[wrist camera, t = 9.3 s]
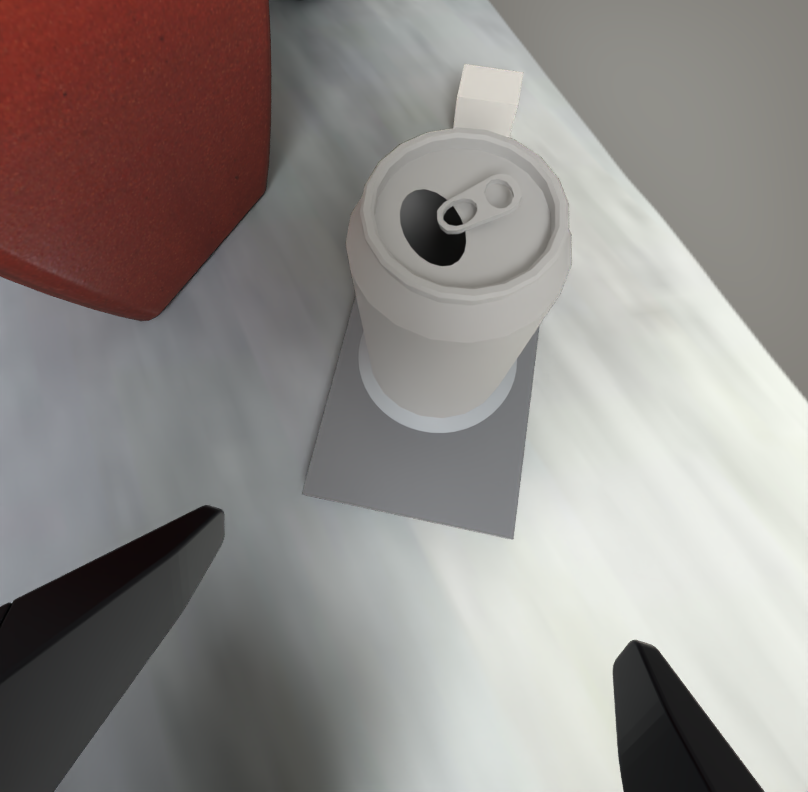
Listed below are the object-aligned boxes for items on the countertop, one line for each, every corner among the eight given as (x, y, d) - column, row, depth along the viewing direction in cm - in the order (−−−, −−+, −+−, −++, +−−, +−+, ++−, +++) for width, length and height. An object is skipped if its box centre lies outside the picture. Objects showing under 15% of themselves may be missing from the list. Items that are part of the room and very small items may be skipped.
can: (352, 323, 24) (306, 142, 13) (471, 283, 25) (526, 79, 14) (397, 441, 22) (388, 354, 11) (524, 394, 23) (644, 265, 12)
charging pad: (507, 538, 22) (522, 540, 19) (306, 495, 23) (292, 491, 20) (560, 121, 31) (576, 80, 28) (412, 99, 31) (413, 56, 28)
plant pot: (130, 71, 32) (-142, -379, 16) (337, 170, 29) (256, -259, 13) (-65, 254, 27) (-732, -131, 11) (160, 394, 25) (-306, 145, 8)
